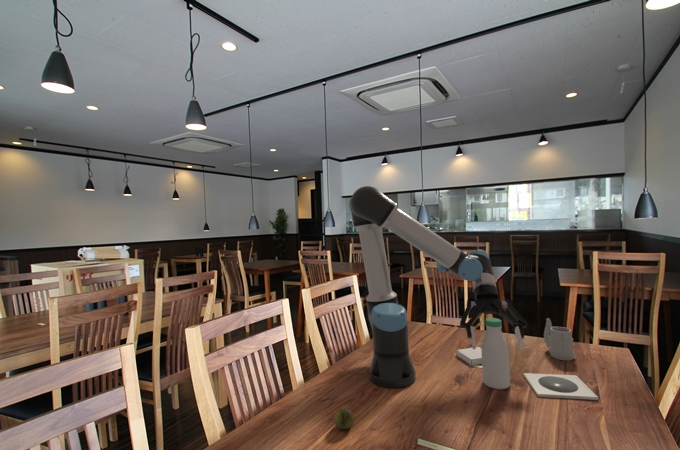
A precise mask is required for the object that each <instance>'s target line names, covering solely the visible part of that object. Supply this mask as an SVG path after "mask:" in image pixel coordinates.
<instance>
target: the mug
mask: <svg viewBox="0 0 680 450" xmlns="http://www.w3.org/2000/svg"><path fill="white" fill-rule="evenodd" d="M545 320H546V322H545V327H544V332H543V341H544V343H545V345H546V347H547V348H549V349H548V351H549V354H550V355H549V356H550V357H552V358H554V359H556V360H559V361H569V362H570V361H573V360H574V357H575V354H576V353H575V352H576V351H574V347H573V346H574V345H573V342H574V338H573V337H572V335H573V334H572V330H571V328H568V327H563V326H553V324H552V320H551V319H550V318H549V317H548V318H546V319H545Z"/></svg>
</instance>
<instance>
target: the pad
mask: <svg viewBox="0 0 680 450" xmlns="http://www.w3.org/2000/svg"><path fill="white" fill-rule="evenodd" d="M523 376H524V377H523V378H525V380H526V381H527V383H528V384H529V386H530V387H531V390H533V392H534V393H535V395H536V396H537V397H539V398H554V399H574V400H593V401H598V400H599V397H598V396H597V394H595V392H594V391H592V389H590V388H589V387H588V386H587V385H586V384H585V382H583V381H582V380H581V379H580V378H579V376H577V375H573V374H553V373H533V372H532V373H527V372H524V373H523Z"/></svg>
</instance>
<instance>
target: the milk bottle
mask: <svg viewBox="0 0 680 450" xmlns="http://www.w3.org/2000/svg"><path fill="white" fill-rule="evenodd" d="M484 323H485V327H486V330H485V334H484V336H483V338H482V341H481V348H482V364H481V365H482V366H481V371H482V382H483V384H484V385H485V386H487V387H489V388H491V389H495V390H506V389H509V387H510V386H511V371H510V370H511V369H510V367H511V366H510V352H509V346H508V341H506V340H507V339H506V338H505V337H504V334H503V331H502V326H503V324H502V323H503V322H502V320H501V319H500V318H496V317H487V318H485V321H484Z"/></svg>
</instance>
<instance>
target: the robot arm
mask: <svg viewBox="0 0 680 450" xmlns="http://www.w3.org/2000/svg"><path fill="white" fill-rule="evenodd" d="M349 210H350V212H351V218H352V223H353V228H354V229H356V230H357V231H358V236H359V242H360V247H361V253H362V259H363V265H364V271H365V277H366V283H367V290H368V295H367V296H366V298H365V302H366V308H367V319H368V322H369V323H370V327H371V332H372V342H373V343H372V345H373V346H372V347H373V356H372V360H371V364H370V366H369V367H370V368H369V380H370V379H371V380H370V381H371V382H372V383H373V384H375V385H377V386H379V387H382V388H388V389H399V388H404V387H408V386H410V385H412V384H413V383H414V382H415V381H416V378H417V377H416V370H415V366H414V364H413V361H412V358H411V356H410V350H409V331H408V317H409V316H408V314H407V313H408V312H407V309H406V308H405V307H404V306H403V305H402V304H399V301H398V294H397V293H396V292H395V291H393V289H392V282H391V277H390V270H389V265H388V258H387V253H386V247H385V242H384V235H383V229H382V228H385V229H387V230H389V231H390V232H391V233H393V234H395V235H397V236H398V237H399V238H400V239H402V240H403V241H406V243H408V244H410V245H412V246H413V247H414V248H416V249H417V250H419V251H420V252H422V253H423V254H425V255H426V256H428V257H429V258H431V259H432V260H434V261H436V268H437V270H438V272H444V273H450V274H452V275H455V276H456V277H459V278H461V279H462V280H464V281H468V282H472V288H473V293H474V298H475V299H474V300H475V301H472V300H471V299H469V298H468V299H467V300H466V307H465V309H464V312H463V314H462V316H461V319H460V322H459V328H461V329H463V328H464V329H465V331H466V337H467V338H468V339H470V341H471V344H472V347H473V349H476V347H477V344H476V343H477V341H476V336H475V332H474V331H475V330H474V326H473V325H474V323H476V321H477V320H478V319H479V318H480V317H481V315H482V314H484V315H496V314H497V315H498V316H499V317H501V318H503V319H504V321H506V322H507V323H508V324H510V326H512V327H514V335H515V338H516V341H517V346H518V349H519V351H523V350H524V348H525V345H524V342H523V340H524V338H525V333H524V330H523V329H526V328H527V326H528V321H527V320H526V319H525V318H524V316H522V314H520V312H519V311H518V310H517V308H515V307H514V305H513V304H512V301H511V300H510V299H506V300H502V301H501V299H500V297H499V293H498V292H499V291H498V288H497V284H496V280H495V276H494V271H493V267H492V262H491V260H490V256H489V254H488V253H487V252H486V251H485V250H483V249H477V250H475V249H474V250H472V251H469V253H468V254H467V253H465V252H464V251H462V250H461V249H459V248H458V247H457V246H455V245H453V244H451V242H449V241H448V240H446V239H445V238H443V237H442V236H440V235H439V234H437V233H435V231H433V230H431V229H430V228H428V227H427V226H425V225H424V224H422V223H420V222H419V221H418V220H416V219H415V218H413V217H411V216H410V215H409V214H407V213H406V212H404V211H403V210H402V209H400V208H398V204H397V202H395V201H393V200H392V199H390V197H388V196H387V195H385V193H383V192H382V191H380V189H378V188H377V187H375V186H370V185H365V186H362V187H359V188H358V189H356V190H355V191H354V192H353V193H352V195H351V197H350V200H349ZM474 306H475V307H476V308H477V310H476V311H475V312H474V314H472V316H471V317H470V319H469V320H468V321H467V319H468V317H469V314H470V313H471V312H470V311H471V310H472V308H473V307H474ZM502 306H503V307H504V308H503V307H502ZM505 309H507V311H508V312H507V311H506V310H505ZM466 321H467V322H466ZM472 347H471V348H472Z"/></svg>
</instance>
